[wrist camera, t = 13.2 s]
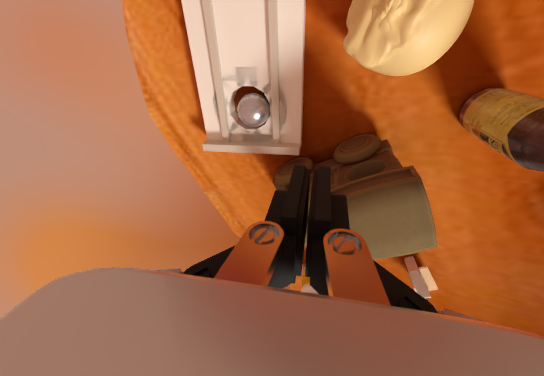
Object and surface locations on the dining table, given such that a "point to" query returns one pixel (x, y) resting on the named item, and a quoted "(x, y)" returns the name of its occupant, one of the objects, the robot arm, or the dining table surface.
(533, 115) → the sauce bottle
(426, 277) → the architectural model
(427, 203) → the wooden toy train
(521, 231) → the dining table surface
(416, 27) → the sculpture
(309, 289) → the supplement bottle
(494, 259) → the dining table surface
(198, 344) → the robot arm
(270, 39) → the white tray
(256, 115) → the steel ball
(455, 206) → the dining table surface
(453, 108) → the dining table surface
